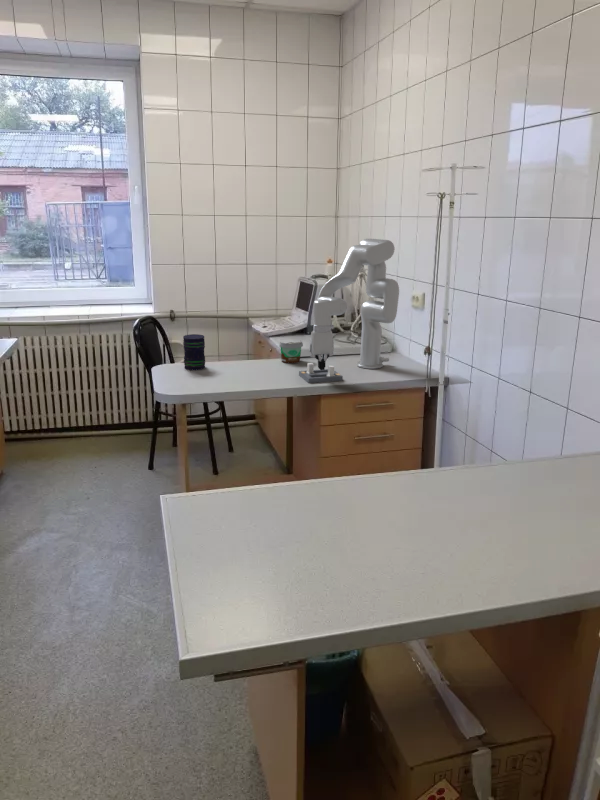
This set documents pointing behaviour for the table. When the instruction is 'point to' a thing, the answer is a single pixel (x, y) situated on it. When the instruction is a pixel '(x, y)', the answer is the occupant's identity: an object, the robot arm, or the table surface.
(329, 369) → the tab
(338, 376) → the switch bank
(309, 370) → the tab
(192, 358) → the storage jar
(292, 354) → the food container
